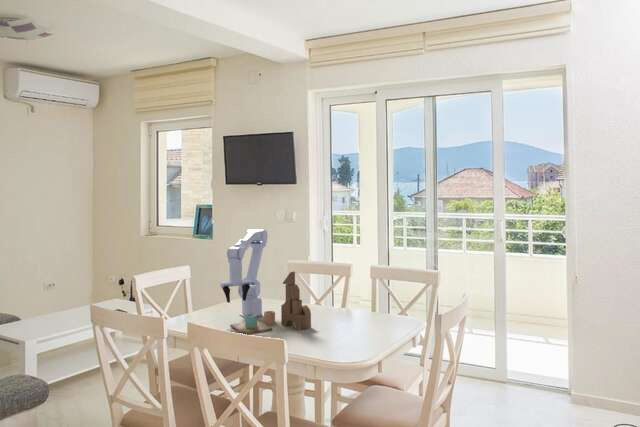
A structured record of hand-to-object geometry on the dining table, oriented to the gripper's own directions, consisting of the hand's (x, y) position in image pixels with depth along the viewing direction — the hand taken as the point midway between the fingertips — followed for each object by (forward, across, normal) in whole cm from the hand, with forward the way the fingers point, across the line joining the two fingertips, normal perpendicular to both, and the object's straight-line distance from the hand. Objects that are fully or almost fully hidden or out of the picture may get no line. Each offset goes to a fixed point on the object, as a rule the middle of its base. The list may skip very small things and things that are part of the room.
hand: (236, 301), depth 232 cm
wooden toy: (+10, +21, -20) cm, 31 cm away
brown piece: (+10, +2, -14) cm, 17 cm away
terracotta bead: (+10, +13, -9) cm, 19 cm away
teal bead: (+9, +2, -14) cm, 17 cm away
